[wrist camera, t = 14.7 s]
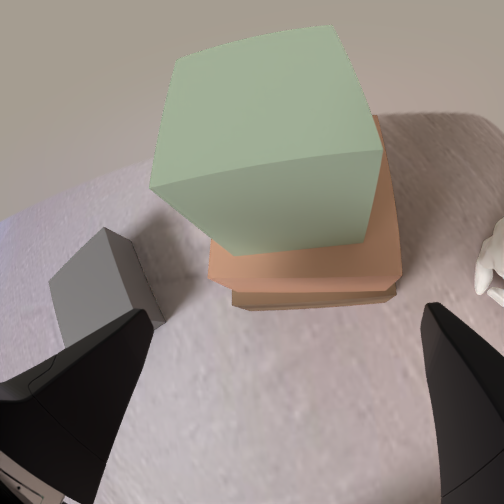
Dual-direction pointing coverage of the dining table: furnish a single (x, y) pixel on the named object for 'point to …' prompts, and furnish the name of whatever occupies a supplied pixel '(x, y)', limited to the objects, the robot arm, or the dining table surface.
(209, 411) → the dining table surface
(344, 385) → the dining table surface
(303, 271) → the terracotta block
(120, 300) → the charcoal plinth
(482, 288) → the white squat rounded figurine
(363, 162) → the sage green block
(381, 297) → the walnut block
